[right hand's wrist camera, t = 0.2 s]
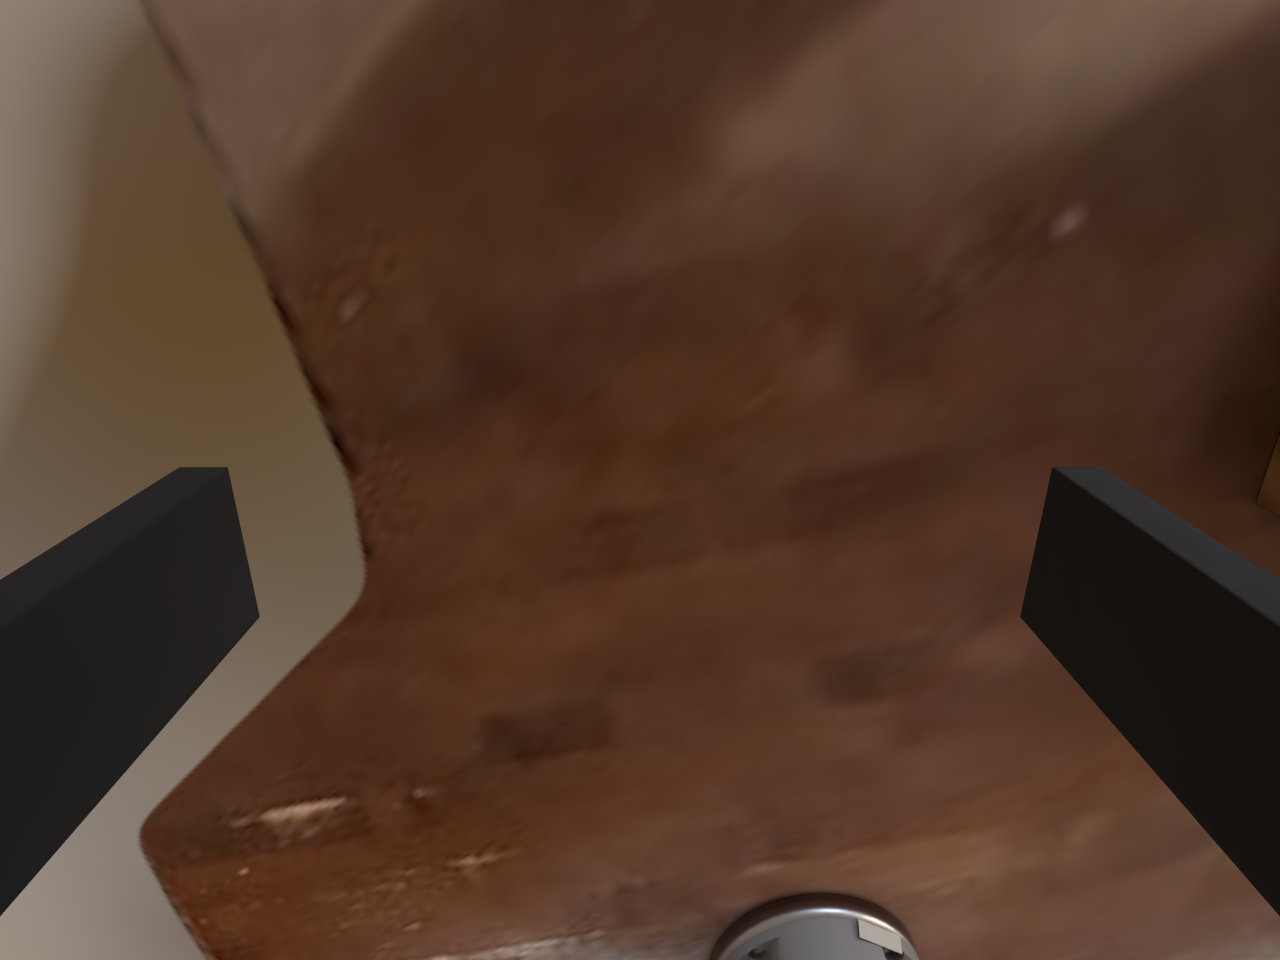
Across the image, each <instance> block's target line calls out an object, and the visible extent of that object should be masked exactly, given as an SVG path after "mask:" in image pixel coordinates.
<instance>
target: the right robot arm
mask: <svg viewBox="0 0 1280 960" xmlns="http://www.w3.org/2000/svg"><path fill="white" fill-rule="evenodd" d="M259 617H260V616H259V611H258V607H257V602H256V598H255V593H254V588H253V584H252V579H251V574H250V569H249V565H248V560H247V555H246V551H245V546H244V542H243V537H242V532H241V528H240V523H239V518H238V513H237V509H236V504H235V499H234V495H233V490H232V485H231V481H230V476H229V472H228V468H227V467H179V468H178V469H176V470H175V471H173V472H171V473H170V474H168V475H167V476H165V477H163V478H162V479H160V480H159V481H157V482H155V483H154V484H152V485H151V486H149V487H147V488H146V489H144V490H143V491H141V492H140V493H138V494H136V495H135V496H133V497H132V498H130V499H128V500H127V501H125V502H124V503H122V504H120V505H119V506H117V507H116V508H114V509H112V510H111V511H109V512H108V513H106V514H104V515H103V516H101V517H100V518H98V519H97V520H95V521H93V522H92V523H90V524H89V525H87V526H85V527H84V528H82V529H81V530H79V531H77V532H76V533H74V534H73V535H71V536H70V537H68V538H66V539H65V540H63V541H61V542H60V543H58V544H57V545H55V546H54V547H52V548H50V549H49V550H47V551H46V552H44V553H42V554H41V555H39V556H38V557H36V558H34V559H33V560H31V561H30V562H28V563H27V564H25V565H23V566H22V567H20V568H19V569H17V570H15V571H14V572H12V573H11V574H9V575H7V576H6V577H4V578H3V579H1V580H0V916H1V915H2V914H3V912H4V911H5V910H6V909H7V908H8V907H9V905H10V904H11V903H12V902H13V901H14V900H15V899H16V897H17V896H18V895H19V894H20V893H21V892H22V890H23V889H24V888H25V887H26V886H27V885H28V883H29V882H30V881H31V880H32V879H33V878H34V877H35V875H36V874H37V873H38V872H39V871H40V870H41V868H42V867H43V866H44V865H45V864H46V863H47V862H48V860H49V859H50V858H51V857H52V856H53V855H54V853H55V852H56V851H57V850H58V849H59V848H60V847H61V845H62V844H63V843H64V842H65V841H66V840H67V839H68V837H69V836H70V835H71V834H72V833H73V832H74V830H75V829H76V828H77V827H78V826H79V825H80V824H81V822H82V821H83V820H84V819H85V818H86V817H87V815H88V814H89V813H90V812H91V811H92V810H93V808H94V807H95V806H96V805H97V804H98V803H99V802H100V800H101V799H102V798H103V797H104V796H105V795H106V794H107V792H108V791H109V790H110V789H111V788H112V787H113V785H114V784H115V783H116V782H117V781H118V780H119V779H120V777H121V776H122V775H123V774H124V773H125V772H126V770H127V769H128V768H129V767H130V766H131V765H132V764H133V762H134V761H135V760H136V759H137V758H138V757H139V755H140V754H141V753H142V752H143V751H144V750H145V748H146V747H147V746H148V745H149V744H150V743H151V742H152V740H153V739H154V738H155V737H156V736H157V735H158V734H159V732H160V731H161V730H162V729H163V728H164V727H165V725H166V724H167V723H168V722H169V721H170V720H171V718H172V717H173V716H174V715H175V714H176V713H177V712H178V710H179V709H180V708H181V707H182V706H183V705H184V704H185V702H186V701H187V700H188V699H189V698H190V697H191V695H192V694H193V693H194V692H195V691H196V690H197V689H198V687H199V686H200V685H201V684H202V683H203V682H204V680H205V679H206V678H207V677H208V676H209V675H210V674H211V672H212V671H213V670H214V669H215V668H216V667H217V665H218V664H219V663H220V662H221V661H222V660H223V658H224V657H225V656H226V655H227V654H228V653H229V652H230V650H231V649H232V648H233V647H234V646H235V645H236V644H237V642H238V641H239V640H240V639H241V638H242V637H243V635H244V634H245V633H246V632H247V631H248V630H249V629H250V627H251V626H252V625H253V624H254V623H255V622H256V620H257V619H258V618H259ZM1020 617H1021V618H1022V619H1023V620H1024V622H1025V623H1026V624H1027V625H1028V626H1029V627H1030V629H1031V630H1032V631H1033V632H1034V633H1035V634H1036V635H1037V637H1038V638H1039V639H1040V640H1041V641H1042V642H1043V644H1044V645H1045V646H1046V647H1047V648H1048V649H1049V650H1050V652H1051V653H1052V654H1053V655H1054V656H1055V657H1056V659H1057V660H1058V661H1059V662H1060V663H1061V664H1062V665H1063V667H1064V668H1065V669H1066V670H1067V671H1068V672H1069V674H1070V675H1071V676H1072V677H1073V678H1074V679H1075V680H1076V682H1077V683H1078V684H1079V685H1080V686H1081V687H1082V689H1083V690H1084V691H1085V692H1086V693H1087V694H1088V695H1089V697H1090V698H1091V699H1092V700H1093V701H1094V702H1095V704H1096V705H1097V706H1098V707H1099V708H1100V709H1101V710H1102V712H1103V713H1104V714H1105V715H1106V716H1107V717H1108V719H1109V720H1110V721H1111V722H1112V723H1113V724H1114V725H1115V727H1116V728H1117V729H1118V730H1119V731H1120V732H1121V734H1122V735H1123V736H1124V737H1125V738H1126V739H1127V740H1128V742H1129V743H1130V744H1131V745H1132V746H1133V747H1134V749H1135V750H1136V751H1137V752H1138V753H1139V754H1140V755H1141V757H1142V758H1143V759H1144V760H1145V761H1146V762H1147V764H1148V765H1149V766H1150V767H1151V768H1152V769H1153V770H1154V772H1155V773H1156V774H1157V775H1158V776H1159V777H1160V779H1161V780H1162V781H1163V782H1164V783H1165V784H1166V785H1167V787H1168V788H1169V789H1170V790H1171V791H1172V792H1173V794H1174V795H1175V796H1176V797H1177V798H1178V799H1179V800H1180V802H1181V803H1182V804H1183V805H1184V806H1185V807H1186V809H1187V810H1188V811H1189V812H1190V813H1191V814H1192V815H1193V817H1194V818H1195V819H1196V820H1197V821H1198V822H1199V824H1200V825H1201V826H1202V827H1203V828H1204V829H1205V830H1206V832H1207V833H1208V834H1209V835H1210V836H1211V837H1212V839H1213V840H1214V841H1215V842H1216V843H1217V844H1218V845H1219V847H1220V848H1221V849H1222V850H1223V851H1224V852H1225V854H1226V855H1227V856H1228V857H1229V858H1230V859H1231V860H1232V862H1233V863H1234V864H1235V865H1236V866H1237V867H1238V869H1239V870H1240V871H1241V872H1242V873H1243V874H1244V875H1245V877H1246V878H1247V879H1248V880H1249V881H1250V882H1251V884H1252V885H1253V886H1254V887H1255V888H1256V889H1257V890H1258V892H1259V893H1260V894H1261V895H1262V896H1263V897H1264V899H1265V900H1266V901H1267V902H1268V903H1269V904H1270V905H1271V907H1272V908H1273V909H1274V910H1275V911H1276V912H1277V914H1278V915H1279V916H1280V580H1279V579H1277V578H1276V577H1274V576H1273V575H1271V574H1269V573H1268V572H1266V571H1265V570H1263V569H1261V568H1260V567H1258V566H1257V565H1255V564H1254V563H1252V562H1250V561H1249V560H1247V559H1246V558H1244V557H1242V556H1241V555H1239V554H1238V553H1236V552H1234V551H1233V550H1231V549H1230V548H1228V547H1226V546H1225V545H1223V544H1222V543H1220V542H1218V541H1217V540H1215V539H1214V538H1212V537H1211V536H1209V535H1207V534H1206V533H1204V532H1203V531H1201V530H1199V529H1198V528H1196V527H1195V526H1193V525H1191V524H1190V523H1188V522H1187V521H1185V520H1183V519H1182V518H1180V517H1179V516H1177V515H1176V514H1174V513H1172V512H1171V511H1169V510H1168V509H1166V508H1164V507H1163V506H1161V505H1160V504H1158V503H1156V502H1155V501H1153V500H1152V499H1150V498H1148V497H1147V496H1145V495H1144V494H1142V493H1141V492H1139V491H1137V490H1136V489H1134V488H1133V487H1131V486H1129V485H1128V484H1126V483H1125V482H1123V481H1121V480H1120V479H1118V478H1117V477H1115V476H1113V475H1112V474H1110V473H1109V472H1107V471H1105V470H1104V469H1102V468H1101V467H1052V471H1051V476H1050V481H1049V485H1048V490H1047V495H1046V499H1045V504H1044V509H1043V513H1042V518H1041V523H1040V527H1039V532H1038V537H1037V541H1036V546H1035V551H1034V555H1033V560H1032V565H1031V569H1030V574H1029V579H1028V583H1027V588H1026V593H1025V597H1024V602H1023V607H1022V611H1021V616H1020ZM710 960H919V957H918V954H917V951H916V948H915V946H914V943H913V940H912V938H911V936H910V934H909V932H908V931H907V929H906V928H905V927H904V926H903V924H902V923H901V922H900V921H899V920H898V919H897V918H896V917H895V916H893V915H892V914H890V913H889V912H888V911H886V910H884V909H883V908H881V907H879V906H877V905H875V904H873V903H871V902H868V901H865V900H862V899H859V898H855V897H851V896H845V895H838V894H824V893H819V894H804V895H797V896H791V897H787V898H783V899H779V900H776V901H773V902H770V903H767V904H765V905H762V906H760V907H758V908H756V909H754V910H752V911H750V912H749V913H747V914H746V915H744V916H742V917H741V918H740V919H738V920H737V921H736V922H735V923H733V924H732V925H731V926H730V927H729V928H728V929H727V930H726V931H725V932H724V934H723V935H722V936H721V938H720V939H719V940H718V942H717V944H716V946H715V947H714V950H713V952H712V955H711V959H710Z"/></svg>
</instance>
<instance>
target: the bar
mask: <svg viewBox="0 0 1280 960" xmlns="http://www.w3.org/2000/svg"><path fill="white" fill-rule="evenodd" d="M1256 504H1257V505H1259V506H1260V507H1262V508H1264V509H1266V510H1268V511H1270V512H1272V513H1274V514H1275V515H1277V516H1279V517H1280V433H1279V436H1278V439H1277V442H1276V445H1275V448H1274V451H1273V454H1272V457H1271V460H1270V463H1269V466H1268V469H1267V472H1266V475H1265V478H1264V481H1263V484H1262V487H1261V490H1260V493H1259V496H1258V499H1257V502H1256Z"/></svg>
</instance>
